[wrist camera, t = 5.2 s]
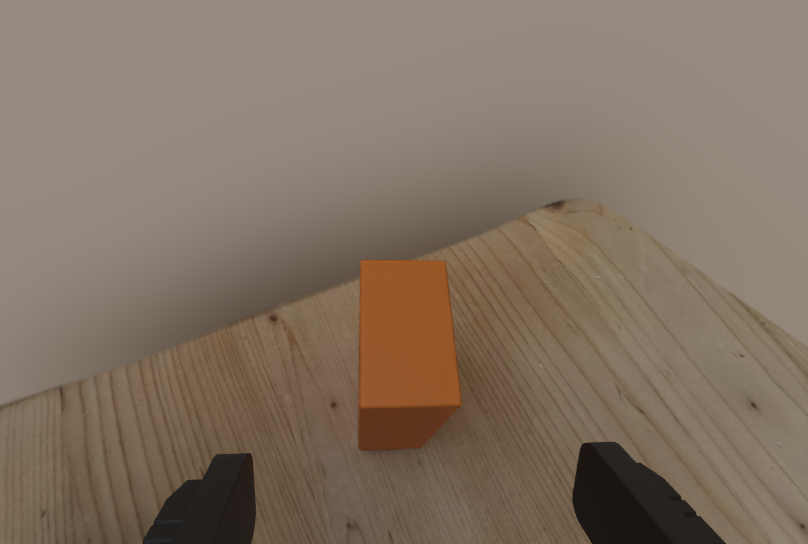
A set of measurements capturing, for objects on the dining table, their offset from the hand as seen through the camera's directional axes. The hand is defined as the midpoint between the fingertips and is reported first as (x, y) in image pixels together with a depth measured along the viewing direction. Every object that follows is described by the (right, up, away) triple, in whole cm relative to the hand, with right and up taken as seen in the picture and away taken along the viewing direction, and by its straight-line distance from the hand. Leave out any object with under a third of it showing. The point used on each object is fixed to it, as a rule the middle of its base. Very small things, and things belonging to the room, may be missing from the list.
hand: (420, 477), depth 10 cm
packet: (-1, -1, +11) cm, 11 cm away
